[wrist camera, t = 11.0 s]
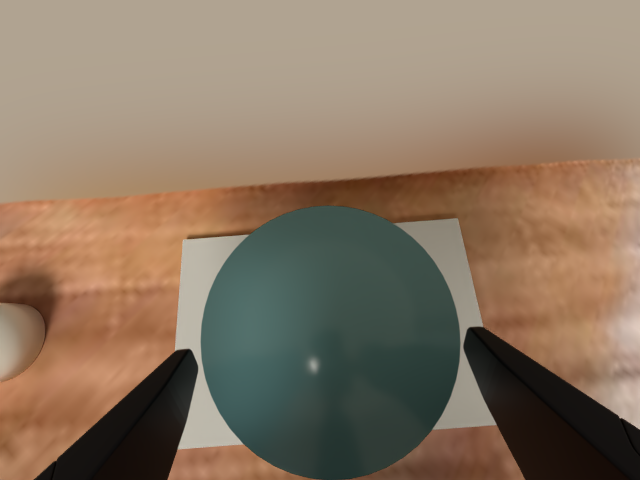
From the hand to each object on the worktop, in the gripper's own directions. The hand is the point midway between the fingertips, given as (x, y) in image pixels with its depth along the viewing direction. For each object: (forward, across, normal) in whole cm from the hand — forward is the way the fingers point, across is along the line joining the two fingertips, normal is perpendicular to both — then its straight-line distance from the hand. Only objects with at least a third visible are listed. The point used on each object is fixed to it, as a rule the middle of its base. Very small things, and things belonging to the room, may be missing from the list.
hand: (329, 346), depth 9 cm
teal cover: (+7, 0, +6) cm, 9 cm away
